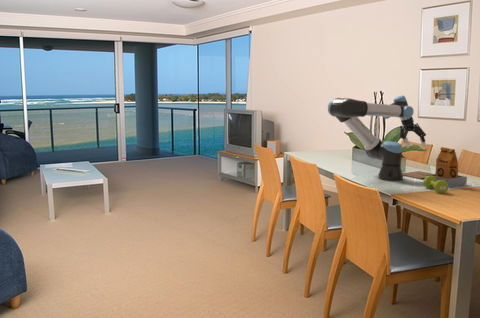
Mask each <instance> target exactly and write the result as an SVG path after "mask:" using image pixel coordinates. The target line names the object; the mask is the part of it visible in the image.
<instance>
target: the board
mask: <svg viewBox="0 0 480 318" xmlns="http://www.w3.org/2000/svg"><path fill="white" fill-rule="evenodd" d="M430 174H433V173H431V172H426V171H421V170H417V171H415V170H414V171H407V172H406V171H405V172H402V175H403V177H408V178H413V179H417V180H424V179H425V177H426V176H427V175H430Z"/></svg>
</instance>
